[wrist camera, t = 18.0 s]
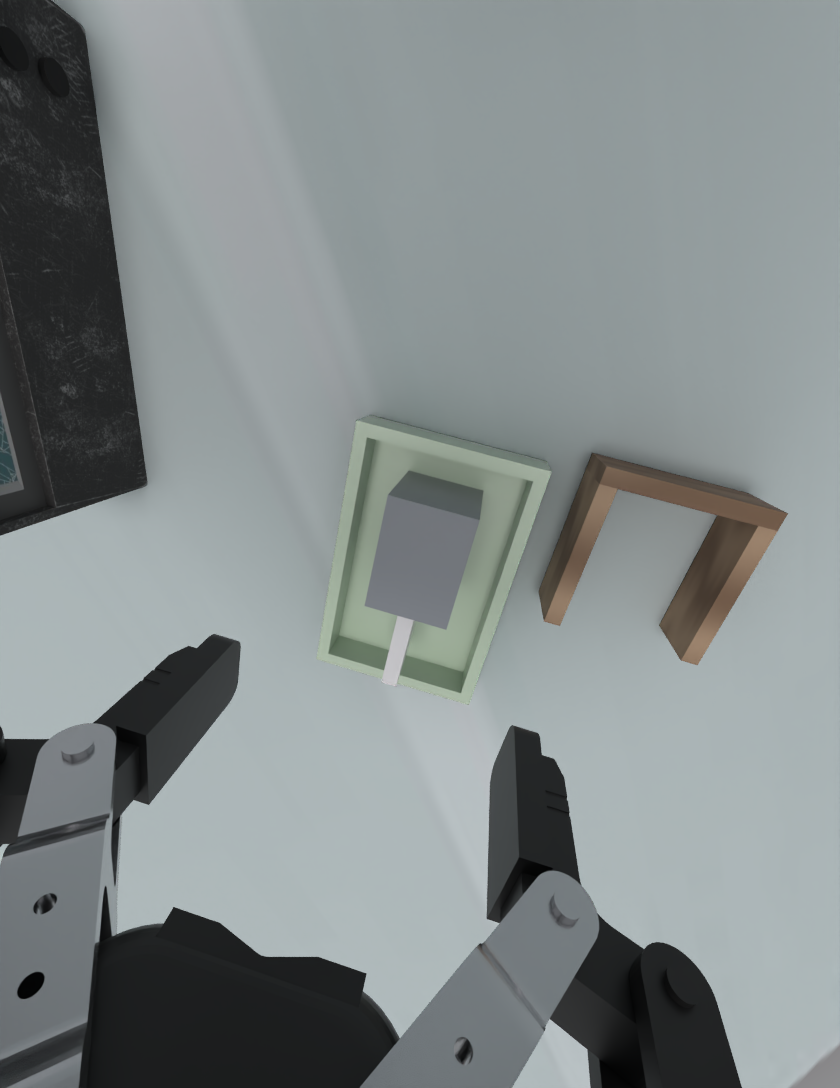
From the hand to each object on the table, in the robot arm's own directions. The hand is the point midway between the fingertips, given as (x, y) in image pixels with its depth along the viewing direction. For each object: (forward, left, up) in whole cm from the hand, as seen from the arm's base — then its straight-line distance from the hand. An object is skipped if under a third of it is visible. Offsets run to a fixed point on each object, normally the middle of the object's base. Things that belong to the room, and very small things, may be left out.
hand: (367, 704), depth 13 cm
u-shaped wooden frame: (-1, +13, -19) cm, 23 cm away
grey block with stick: (+1, 0, -19) cm, 19 cm away
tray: (+4, 0, -19) cm, 19 cm away
